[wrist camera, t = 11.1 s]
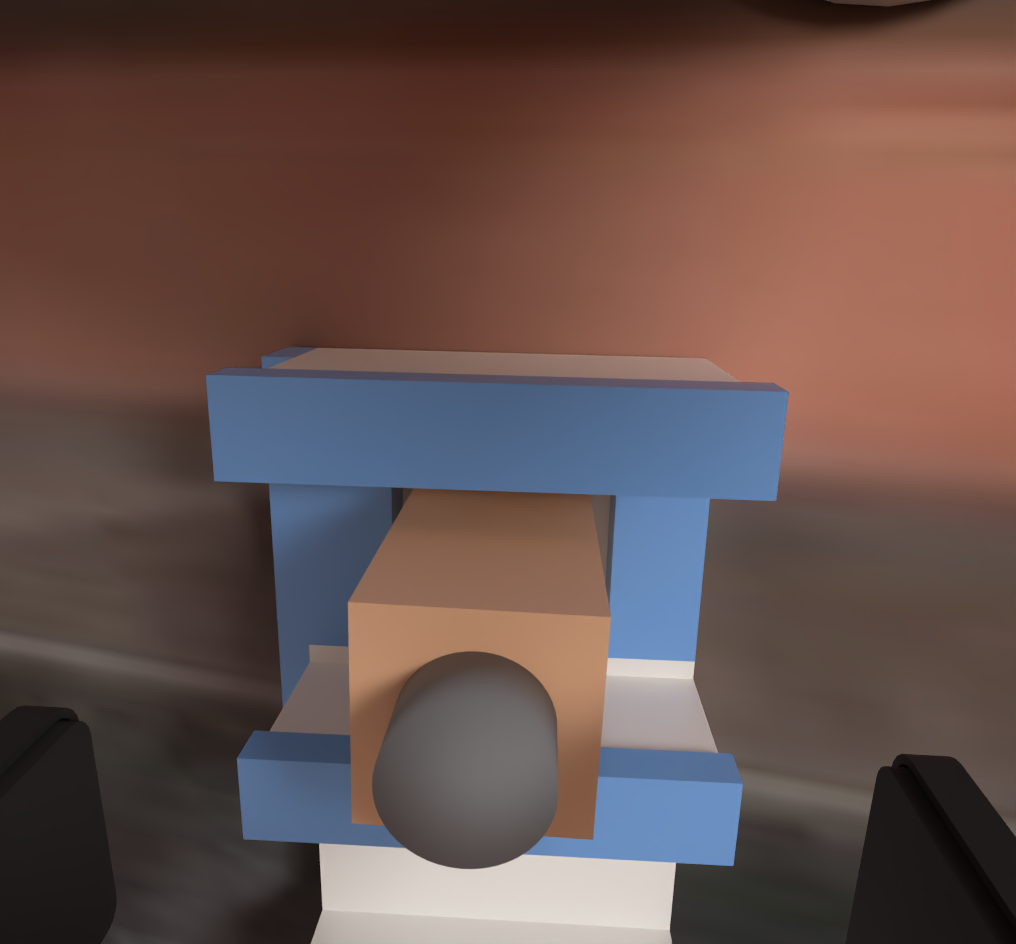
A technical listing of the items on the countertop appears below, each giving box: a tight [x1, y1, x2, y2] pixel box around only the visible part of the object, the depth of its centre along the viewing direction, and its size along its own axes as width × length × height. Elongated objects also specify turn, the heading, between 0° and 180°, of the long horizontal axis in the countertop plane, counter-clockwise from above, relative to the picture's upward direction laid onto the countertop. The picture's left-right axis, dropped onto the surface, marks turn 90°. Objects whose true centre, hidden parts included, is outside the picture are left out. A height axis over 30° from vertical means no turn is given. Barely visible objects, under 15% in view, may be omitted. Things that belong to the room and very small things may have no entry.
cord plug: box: [348, 488, 611, 869], centre depth 16 cm, size 4×4×11 cm
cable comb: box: [206, 347, 789, 944], centre depth 21 cm, size 26×11×6 cm, turn 179°
